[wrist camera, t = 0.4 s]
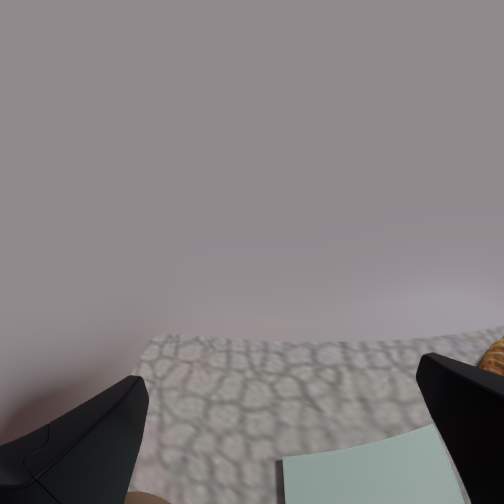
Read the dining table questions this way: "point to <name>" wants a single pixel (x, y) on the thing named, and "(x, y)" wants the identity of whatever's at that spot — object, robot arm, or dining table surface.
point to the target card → (375, 473)
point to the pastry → (494, 358)
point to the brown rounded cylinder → (143, 498)
